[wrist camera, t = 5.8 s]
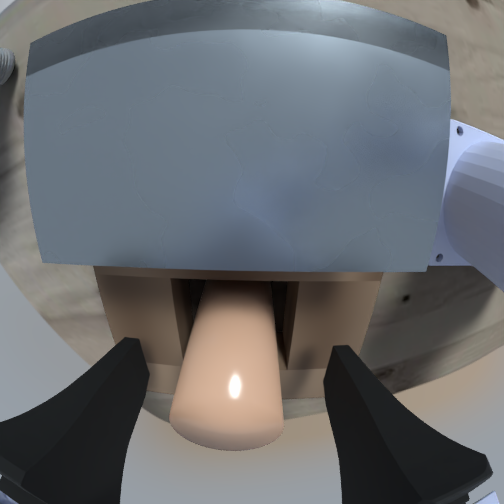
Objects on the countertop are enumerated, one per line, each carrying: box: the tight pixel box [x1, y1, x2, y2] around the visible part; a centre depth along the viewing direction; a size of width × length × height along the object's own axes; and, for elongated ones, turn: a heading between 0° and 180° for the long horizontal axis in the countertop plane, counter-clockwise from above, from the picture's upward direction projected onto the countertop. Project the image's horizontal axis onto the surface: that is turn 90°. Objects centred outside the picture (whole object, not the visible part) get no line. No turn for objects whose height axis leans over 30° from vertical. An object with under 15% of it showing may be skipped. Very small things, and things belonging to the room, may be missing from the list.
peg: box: [169, 279, 284, 451], centre depth 11 cm, size 3×3×8 cm
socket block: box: [93, 265, 383, 399], centre depth 12 cm, size 12×13×3 cm
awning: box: [24, 0, 451, 272], centre depth 8 cm, size 10×6×7 cm, turn 89°
